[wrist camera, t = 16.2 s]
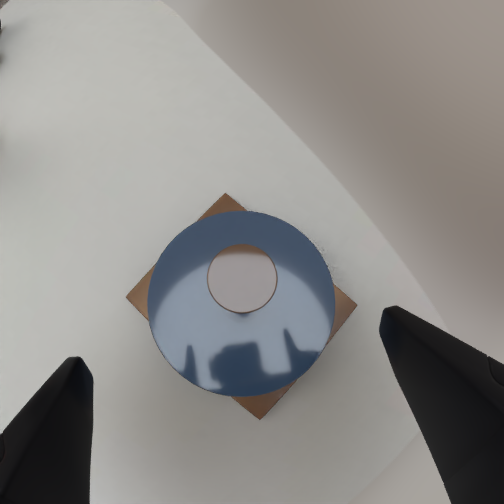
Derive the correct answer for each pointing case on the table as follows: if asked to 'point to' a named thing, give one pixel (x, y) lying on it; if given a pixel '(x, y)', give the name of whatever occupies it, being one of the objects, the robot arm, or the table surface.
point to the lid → (241, 303)
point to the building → (2, 2)
